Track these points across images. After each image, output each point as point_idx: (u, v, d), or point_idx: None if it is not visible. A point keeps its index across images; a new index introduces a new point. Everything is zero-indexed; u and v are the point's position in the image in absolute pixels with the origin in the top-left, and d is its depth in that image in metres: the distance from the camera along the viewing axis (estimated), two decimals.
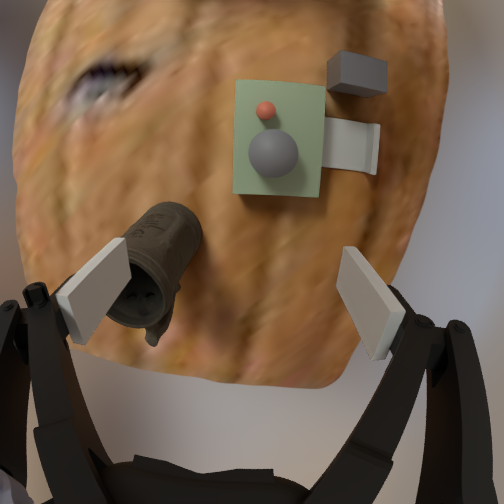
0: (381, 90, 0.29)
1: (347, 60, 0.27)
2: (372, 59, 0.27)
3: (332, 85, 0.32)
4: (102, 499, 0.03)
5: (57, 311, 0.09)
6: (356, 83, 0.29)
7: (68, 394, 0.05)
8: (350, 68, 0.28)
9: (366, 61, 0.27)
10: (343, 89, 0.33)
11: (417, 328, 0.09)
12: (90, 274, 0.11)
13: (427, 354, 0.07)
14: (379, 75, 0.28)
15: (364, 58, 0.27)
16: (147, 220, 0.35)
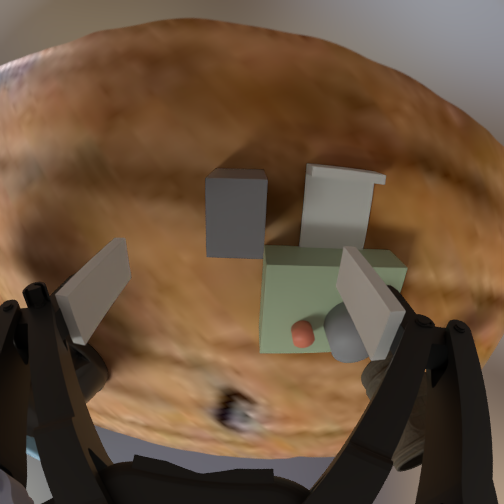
0: (265, 190, 0.22)
1: (222, 247, 0.24)
2: (209, 205, 0.22)
3: None
4: (102, 499, 0.03)
5: (57, 311, 0.09)
6: (260, 235, 0.23)
7: (68, 394, 0.05)
8: (234, 242, 0.24)
9: (216, 216, 0.23)
10: None
11: (417, 328, 0.09)
12: (90, 274, 0.11)
13: (427, 354, 0.07)
14: (237, 193, 0.22)
15: (211, 219, 0.23)
16: None
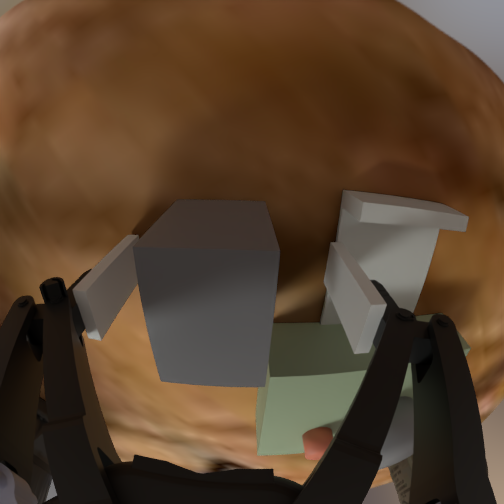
0: (273, 275, 0.09)
1: (187, 371, 0.11)
2: (149, 303, 0.10)
3: None
4: (102, 499, 0.03)
5: (74, 306, 0.10)
6: (260, 355, 0.11)
7: (81, 392, 0.05)
8: (210, 366, 0.11)
9: (167, 323, 0.10)
10: None
11: (398, 321, 0.09)
12: (106, 270, 0.12)
13: (410, 347, 0.08)
14: (207, 282, 0.09)
15: (158, 328, 0.10)
16: (396, 483, 0.21)
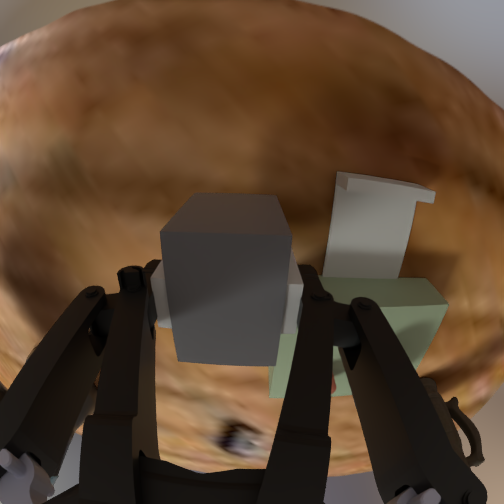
0: (286, 258, 0.10)
1: (203, 350, 0.12)
2: (172, 284, 0.11)
3: None
4: (102, 499, 0.03)
5: (151, 294, 0.11)
6: (272, 334, 0.12)
7: (138, 390, 0.06)
8: (225, 344, 0.12)
9: (187, 303, 0.11)
10: None
11: (315, 303, 0.10)
12: None
13: (332, 326, 0.09)
14: (227, 263, 0.11)
15: (179, 308, 0.11)
16: None
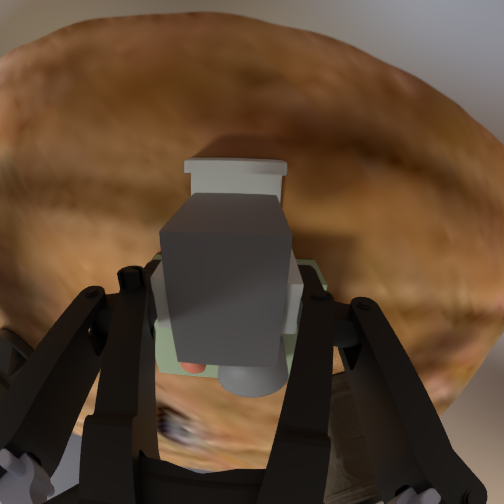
0: (286, 258, 0.10)
1: (203, 350, 0.12)
2: (172, 284, 0.11)
3: None
4: (102, 499, 0.03)
5: (151, 294, 0.11)
6: (272, 334, 0.12)
7: (138, 390, 0.06)
8: (225, 345, 0.12)
9: (187, 303, 0.11)
10: None
11: (315, 302, 0.10)
12: None
13: (332, 326, 0.09)
14: (227, 264, 0.10)
15: (179, 308, 0.11)
16: None
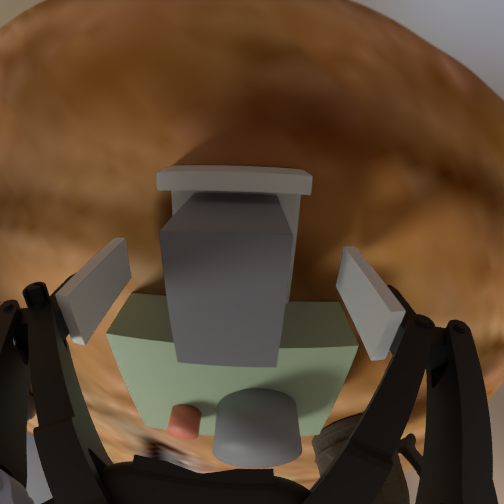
0: (287, 258, 0.10)
1: (203, 351, 0.12)
2: (172, 284, 0.11)
3: None
4: (102, 499, 0.03)
5: (57, 311, 0.09)
6: (273, 335, 0.12)
7: (68, 394, 0.05)
8: (225, 345, 0.12)
9: (187, 304, 0.11)
10: None
11: (417, 328, 0.09)
12: (90, 274, 0.11)
13: (427, 354, 0.07)
14: (227, 263, 0.10)
15: (179, 308, 0.11)
16: None
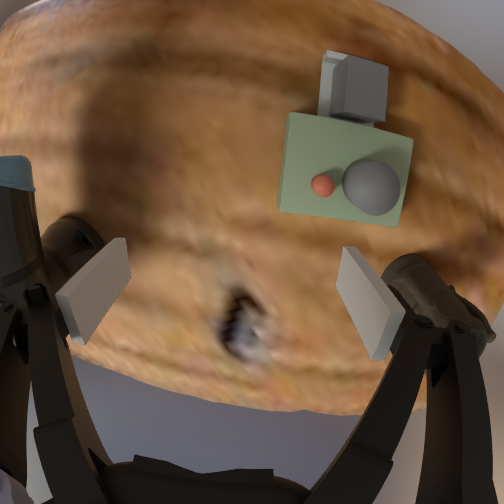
0: (387, 73, 0.23)
1: (357, 105, 0.25)
2: (349, 73, 0.23)
3: (371, 121, 0.28)
4: (102, 499, 0.03)
5: (57, 311, 0.09)
6: (383, 102, 0.24)
7: (68, 394, 0.05)
8: (366, 104, 0.24)
9: (354, 81, 0.24)
10: None
11: (417, 328, 0.09)
12: (90, 274, 0.11)
13: (427, 354, 0.07)
14: (369, 70, 0.23)
15: (350, 83, 0.24)
16: None
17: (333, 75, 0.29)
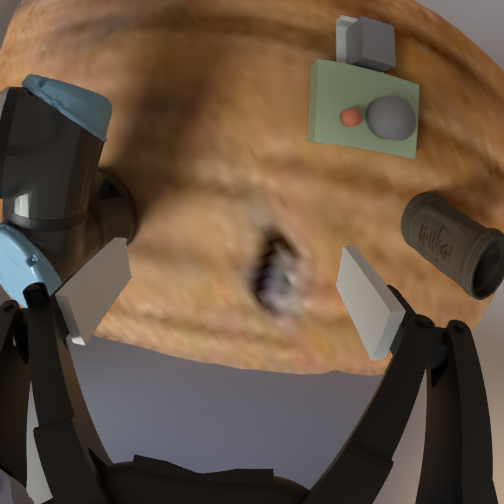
0: (393, 30, 0.23)
1: (372, 53, 0.25)
2: (364, 29, 0.24)
3: (382, 70, 0.29)
4: (102, 499, 0.03)
5: (57, 311, 0.09)
6: (393, 52, 0.25)
7: (68, 394, 0.05)
8: (379, 52, 0.25)
9: (368, 35, 0.24)
10: None
11: (417, 328, 0.09)
12: (90, 274, 0.11)
13: (427, 354, 0.07)
14: (379, 27, 0.23)
15: (365, 36, 0.24)
16: (428, 240, 0.35)
17: (346, 36, 0.29)
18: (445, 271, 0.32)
